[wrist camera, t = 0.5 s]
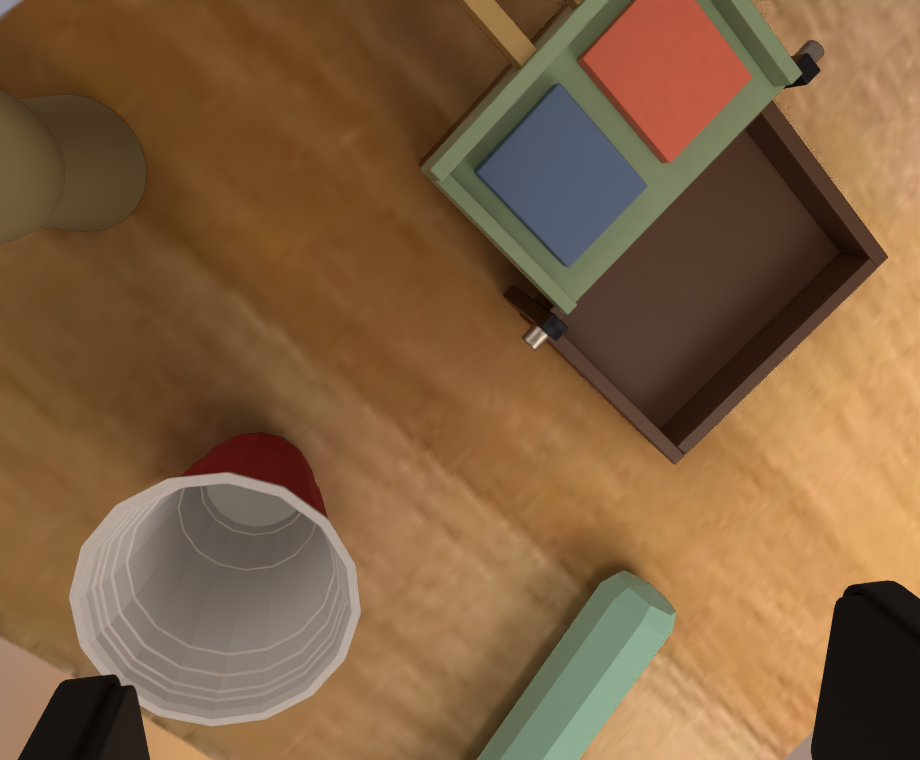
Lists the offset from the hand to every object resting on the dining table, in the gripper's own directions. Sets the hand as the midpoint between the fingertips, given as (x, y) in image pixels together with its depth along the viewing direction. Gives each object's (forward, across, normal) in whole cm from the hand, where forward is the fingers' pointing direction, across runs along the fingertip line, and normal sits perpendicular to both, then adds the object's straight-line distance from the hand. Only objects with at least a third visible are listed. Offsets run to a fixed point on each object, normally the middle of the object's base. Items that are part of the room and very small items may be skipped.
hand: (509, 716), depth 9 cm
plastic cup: (+29, +8, +9) cm, 31 cm away
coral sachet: (+21, -11, -10) cm, 26 cm away
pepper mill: (+29, +14, -7) cm, 33 cm away
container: (+28, -8, +28) cm, 41 cm away
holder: (+28, -17, 0) cm, 33 cm away
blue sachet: (+21, -7, -6) cm, 23 cm away
